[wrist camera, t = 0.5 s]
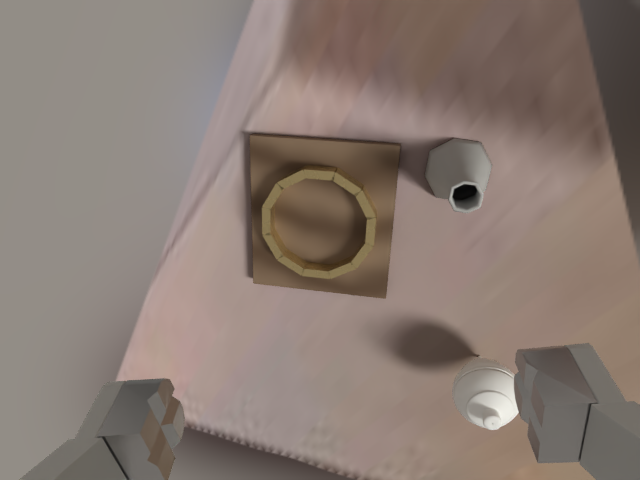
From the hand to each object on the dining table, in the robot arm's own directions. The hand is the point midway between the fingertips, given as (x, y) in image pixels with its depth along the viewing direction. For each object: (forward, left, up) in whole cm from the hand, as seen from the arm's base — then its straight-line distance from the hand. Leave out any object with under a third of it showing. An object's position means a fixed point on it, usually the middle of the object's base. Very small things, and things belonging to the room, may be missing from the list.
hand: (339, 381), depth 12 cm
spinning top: (+30, +13, -46) cm, 57 cm away
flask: (+6, +7, -46) cm, 47 cm away
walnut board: (+13, -8, -46) cm, 49 cm away
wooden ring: (+13, -8, -45) cm, 47 cm away
